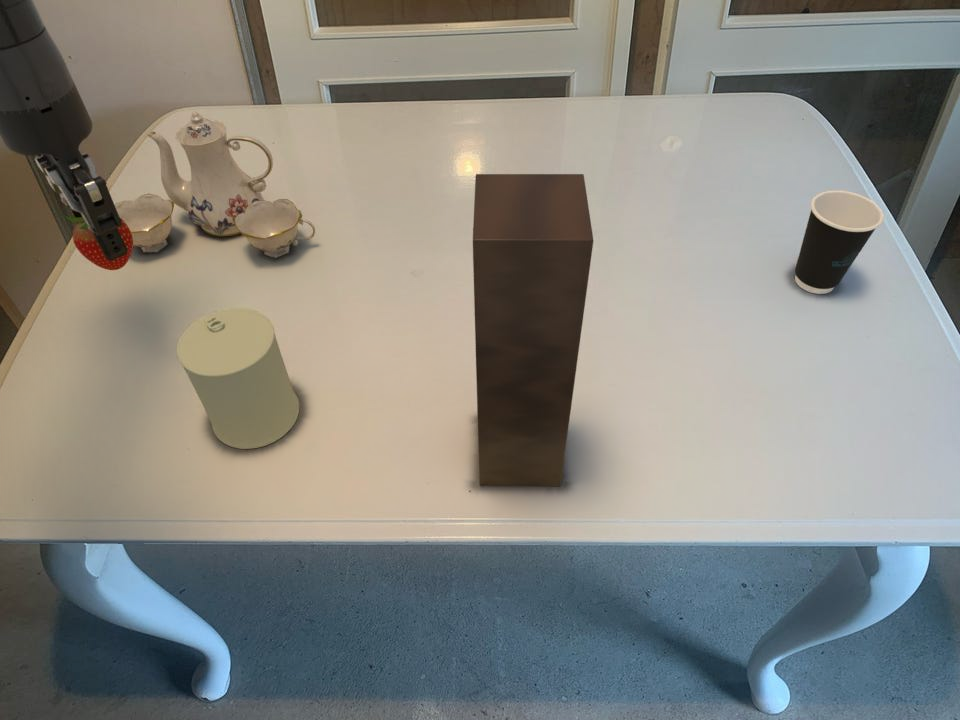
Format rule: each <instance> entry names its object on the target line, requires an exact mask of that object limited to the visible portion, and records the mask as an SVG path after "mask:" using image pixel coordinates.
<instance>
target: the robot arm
mask: <svg viewBox="0 0 960 720" xmlns="http://www.w3.org/2000/svg"><path fill="white" fill-rule="evenodd" d="M92 131H93V121H92V118H91V117H90V114H89V112H88V109H87V108H86V106H85V103H84V101H83V98H82V96H81V94H80V92H79V90H78V88H77V86H76V83H75V82H74V79H73V77H72V75H71V73H70V71H69V68H68V66H67V64H66V61H65V59H64V57H63V55H62V53H61V51H60V49H59V47H58V45H57V44H56V43H55V41H54V39H53V38H52V36H51V34H50V33H49V31H48V29H47V27H46V26H45V23H44V21H43V19H42V16H41V15H40V12H39V10H38V8H37V5H36V4H35V2H34V0H0V138H1V140H2V142H3V143H4V146H5V147H6V148H7V149H9V151H11V152H13V153H15V154H18V155H20V156H21V155H22V156H27V157H28V156H29V157H34V161H35V163H36V165H37V167H38V168H39V169H40V171H41V172H42V174H43V175H44V176H45V178H46V180H47V182H48V184H49V186H50V187H51V189H52V190H53V192H55V194H58V195H59V196H60V201H61V202H62V204H64V205H65V206H66V207H67V208H68V209H69V211H70V213H71V214H72V217H83V219H84V220H85V222H86V224H87V225H88V226H87V227H88V229H89V230H91V231H92V233H93V235H94V237H95V239H96V241H97V243H98V245H99V247H100V249H101V250H102V252H103V254H104V256H105V257H106V258H107V259H108V260H110V261H112V260H115V259H117V258H119V257H122V256H124V255H126V254H127V252H128V249H127V247H126V245H125V243H124V241H123V239H122V237H121V235H120V233H119V230H118V228H117V227H120V226H122V220H121V219H120V217H119V215H118V212H117V210H116V208H115V203H114V200H113V198H112V196H111V193H110V191H109V188H108V185H107V181H106V180H105V179H104V178H103V177H102V176H101V175H99V176H98V174H97V172H96V171H97V166H96V165H95V163H94V162H93V160H92V158H91V156H90V155H89V153H87V152H85V153H83V151H82V149H81V148H80V145H81V143H82V142H83V141H84V140H87V138H88V137H89V136H90V135H91V133H92ZM80 213H81V214H80ZM103 214H104V215H103ZM101 215H102V216H101ZM98 216H99V217H98ZM78 223H79V222H76V225H77V224H78Z"/></svg>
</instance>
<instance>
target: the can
mask: <svg viewBox="0 0 960 720" xmlns="http://www.w3.org/2000/svg"><path fill="white" fill-rule="evenodd" d="M277 339H278V338H277V337H276V332H275V327H274V325H273V323H272V321H271V320H270V319H269V318H268V317H267V316H266V315H265V314H263V313H262V312H259V311H257V310H255V309H251V308H244V307H231V308H225V309H220V310H216V311H213V312H210V313H208V314H206V315H203V316H202V317H199V318H198V319H197V320H195V321H194V322H193V323H192V324H191V325H189V326H188V327H187V328H186V329H185V330H184V332H183V333H182V335H181V336H180V338H179V340H178V342H177V346H176V355H177V359H178V361H179V363H180V365H181V366H182V368H183V370H184V371H185V373H186V375H187V377H188V379H189V381H190V382H191V384H192V387H193V388H194V390H195V393H196V394H197V397H198V398H199V401H200V402H201V404H202V407H203V409H204V411H205V412H206V415H207V417H208V419H209V421H210V423H211V427H212V431H213V433H214V435H215V436H216V438H217V439H218V440H219V441H221V443H223V444H225V445H226V446H228V447H230V448H231V447H232V448H235V449H241V450H250V449H251V450H253V449H258V448H262V447H266V446H268V445H270V444H272V443H275V442H276V441H278V440H280V439H281V438H283V437H284V436H286V435H287V434H288V432H289V431H290V430H291V429H292V428H293V426H294V425H295V424H296V422H297V419H298V417H299V413H300V401H299V398H298V396H297V394H296V393H295V390H294V388H293V385H292V382H291V380H290V377H289V373H288V371H287V368H286V365H285V361H284V358H283V355H282V352H281V349H280V346H279V343H278V340H277Z"/></svg>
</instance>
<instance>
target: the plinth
mask: <svg viewBox="0 0 960 720" xmlns="http://www.w3.org/2000/svg"><path fill="white" fill-rule="evenodd" d="M585 180H586V179H585V175H584V173H476V174H475V181H474V201H473V203H474V204H473V226H472V261H473V262H472V266H473V267H472V269H473V303H474V306H473V307H474V339H475V377H476V413H477V414H476V415H477V445H478V446H477V450H478V485H479V486H491V487H492V486H493V487H494V486H499V487H500V486H501V487H502V486H504V487H505V486H508V487H561V485H562V477H563V472H564V471H563V470H564V463H565V457H566V450H567V449H566V448H567V442H568V434H569V426H570V419H571V410H572V404H573V395H574V389H575V381H576V373H577V366H578V360H579V352H580V346H581V345H580V344H581V336H582V330H583V329H582V328H583V322H584V315H585V307H586V299H587V292H588V286H589V285H588V284H589V277H590V269H591V261H592V255H593V248H594V235H593V227H592V222H591V214H590V213H591V212H590V207H589V201H588V200H589V199H588V195H587V187H586V181H585Z"/></svg>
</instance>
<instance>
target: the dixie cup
mask: <svg viewBox="0 0 960 720" xmlns="http://www.w3.org/2000/svg"><path fill="white" fill-rule="evenodd" d="M884 218H885V216H884V212H883V210H882V208H881V207H880V206H879V205H878V204H877V203H876V202H875V201H873V200H871V199H870V198H869V197H866V196H865V195H861V194H859V193H855V192H853V191H847V190H836V189H835V190H826V191H823V192H822V191H821V192H819V193H818V194H816V195H814V196H813V198H812V199H811V201H810V213H809V216H808V220H807V224H806V228H805V230H804V231H805V232H804V235H803V238H802V243H801V246H800V249H799V254H798V258H797V261H796V264H795V268H794V274H795V276H794V281H795V283H796V284H797V285H798V287H799V288H801V289H802V290H804V291H806V292H808V293H812V294H814V295H815V294H817V295H823V294H828V293H831V292H832V291H833V290H834V289H835V288H836V287H837V286H838V285H840V283H841V281H842V280H843V278H844V277H845V275H846V274H847V272H848V270H850V268H851V266H852V265H853V263H854V262H855V261H856V259H857V257H858V256H859V254H860V253H861V251H862V250H863V249H864V247H865V245H866V244H867V242H868V241H869V239H870V238H871V237H872V235H873V233H874V232H875V231H876V229H877V228H879V227H880V226H881V225H882V224H883V222H884V220H885V219H884Z"/></svg>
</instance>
